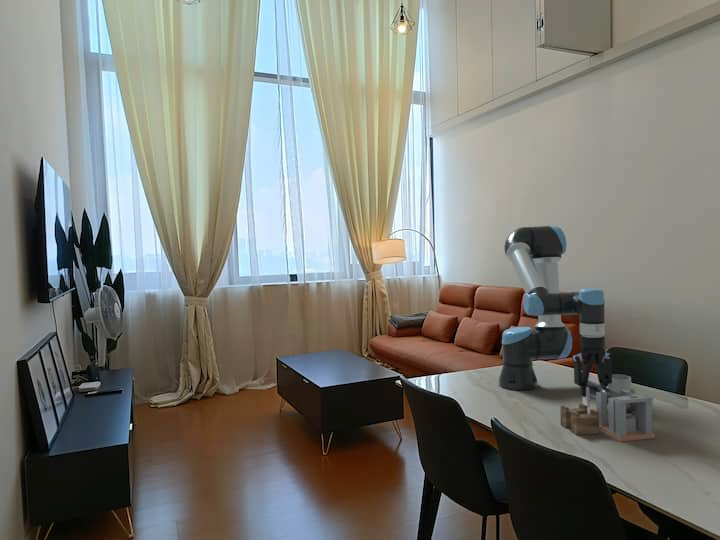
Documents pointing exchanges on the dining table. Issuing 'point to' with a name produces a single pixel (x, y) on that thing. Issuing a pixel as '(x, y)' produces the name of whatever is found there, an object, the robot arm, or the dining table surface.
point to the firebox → (625, 416)
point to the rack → (580, 419)
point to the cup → (620, 383)
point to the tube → (609, 395)
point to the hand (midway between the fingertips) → (593, 405)
